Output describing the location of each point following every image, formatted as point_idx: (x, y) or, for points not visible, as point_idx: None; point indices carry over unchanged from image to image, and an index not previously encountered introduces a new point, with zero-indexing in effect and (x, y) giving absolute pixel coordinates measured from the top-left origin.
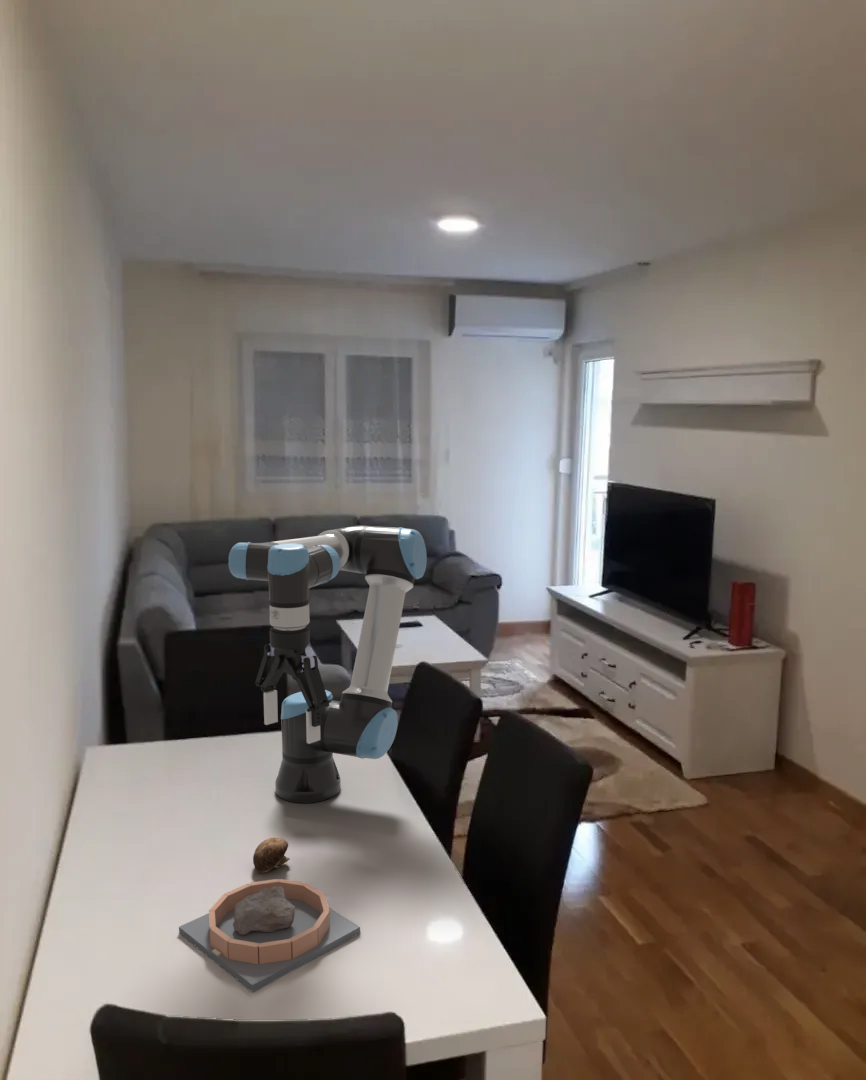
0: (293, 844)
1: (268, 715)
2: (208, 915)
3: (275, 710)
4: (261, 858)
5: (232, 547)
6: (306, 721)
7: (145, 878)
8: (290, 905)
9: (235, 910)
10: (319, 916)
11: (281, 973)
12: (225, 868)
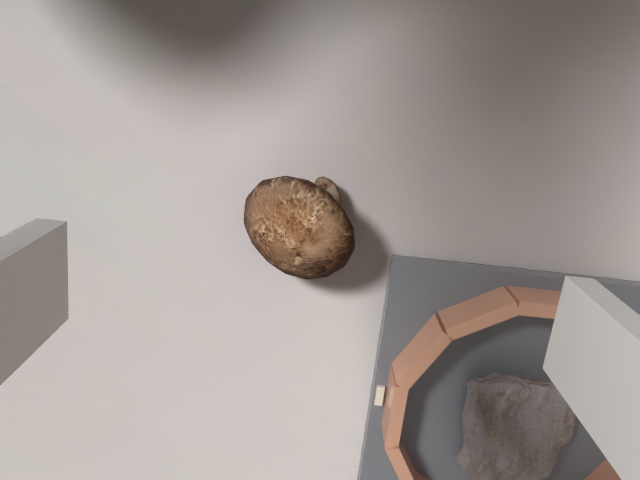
0: (250, 88)
1: (35, 333)
2: (370, 455)
3: (19, 274)
4: (315, 277)
5: None
6: (618, 470)
7: (112, 427)
8: (561, 398)
9: None
10: None
11: None
12: (213, 291)
